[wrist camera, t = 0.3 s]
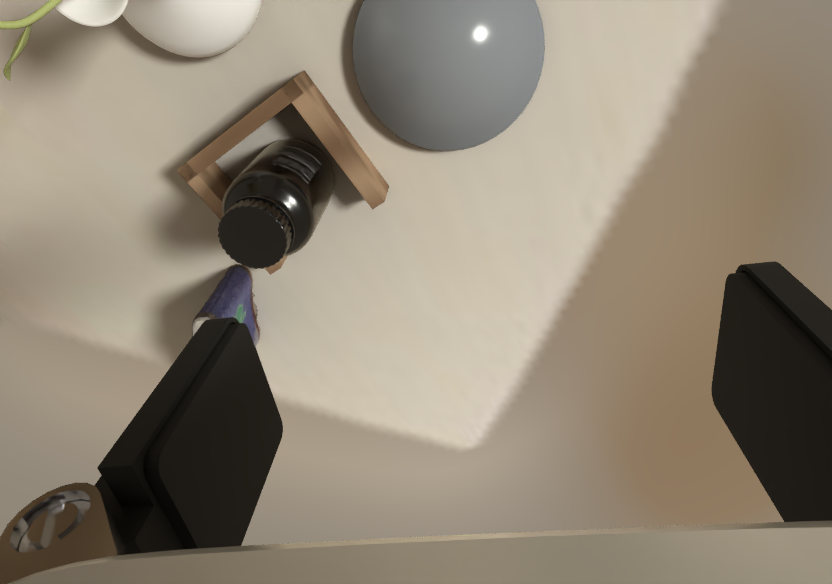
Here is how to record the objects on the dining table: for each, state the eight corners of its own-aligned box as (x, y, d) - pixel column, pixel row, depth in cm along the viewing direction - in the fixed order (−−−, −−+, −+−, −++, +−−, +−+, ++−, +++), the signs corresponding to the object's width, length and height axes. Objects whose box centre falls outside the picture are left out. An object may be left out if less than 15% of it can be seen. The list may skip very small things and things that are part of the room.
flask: (262, 343, 57) (224, 417, 48) (234, 341, 57) (191, 414, 48) (252, 264, 52) (208, 328, 43) (221, 261, 52) (171, 325, 43)
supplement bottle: (240, 159, 47) (180, 215, 37) (307, 122, 45) (263, 170, 35) (286, 226, 50) (242, 295, 40) (351, 194, 48) (322, 258, 38)
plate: (317, 26, 41) (313, 28, 40) (479, -105, 37) (480, -107, 35) (422, 178, 47) (422, 183, 46) (575, 81, 42) (578, 84, 41)
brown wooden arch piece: (194, 157, 47) (176, 170, 44) (304, 70, 43) (292, 78, 40) (281, 256, 51) (270, 274, 48) (389, 186, 47) (384, 201, 44)
